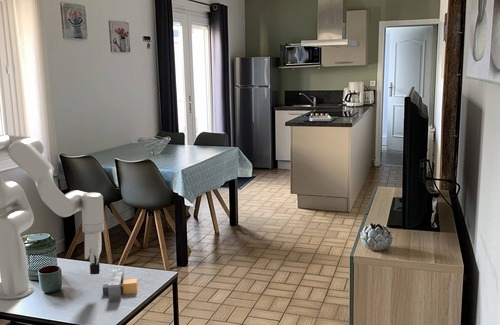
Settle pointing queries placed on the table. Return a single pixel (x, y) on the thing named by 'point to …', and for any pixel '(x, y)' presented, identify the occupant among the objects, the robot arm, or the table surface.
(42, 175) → the robot arm
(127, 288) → the cable plug
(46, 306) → the table surface
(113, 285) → the grey notched block
